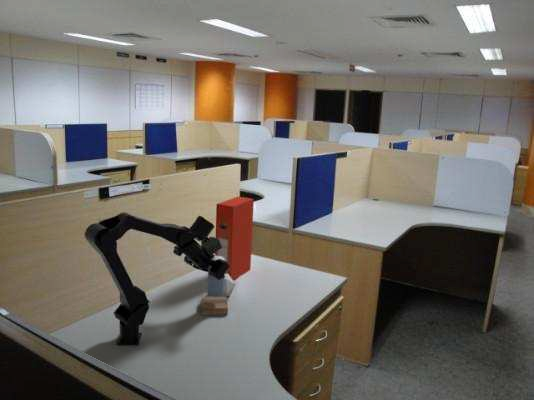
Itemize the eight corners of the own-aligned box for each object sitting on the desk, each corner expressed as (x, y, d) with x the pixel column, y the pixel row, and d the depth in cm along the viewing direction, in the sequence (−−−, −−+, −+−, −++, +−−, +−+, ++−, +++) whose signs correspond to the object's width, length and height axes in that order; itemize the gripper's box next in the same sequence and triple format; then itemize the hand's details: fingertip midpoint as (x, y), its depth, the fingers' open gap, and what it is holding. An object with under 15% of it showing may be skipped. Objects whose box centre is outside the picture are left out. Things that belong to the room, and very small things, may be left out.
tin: (225, 295, 156) (227, 260, 153) (210, 297, 154) (211, 262, 151) (219, 288, 161) (220, 254, 158) (204, 291, 158) (205, 256, 155)
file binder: (213, 278, 185) (216, 203, 178) (234, 265, 200) (237, 196, 193) (230, 282, 181) (234, 206, 174) (250, 269, 197) (254, 199, 189)
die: (229, 290, 176) (215, 270, 174) (243, 287, 169) (228, 266, 168) (216, 304, 170) (201, 284, 168) (230, 301, 164) (214, 280, 162)
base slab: (227, 314, 155) (227, 308, 154) (201, 314, 154) (201, 308, 153) (226, 303, 164) (227, 296, 163) (202, 303, 163) (202, 296, 162)
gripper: (226, 239, 143) (249, 264, 153) (192, 225, 156) (215, 249, 166) (205, 267, 139) (230, 291, 149) (172, 250, 152) (197, 273, 162)
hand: (218, 274), depth 157 cm, fingers closed on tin, 5 cm apart
